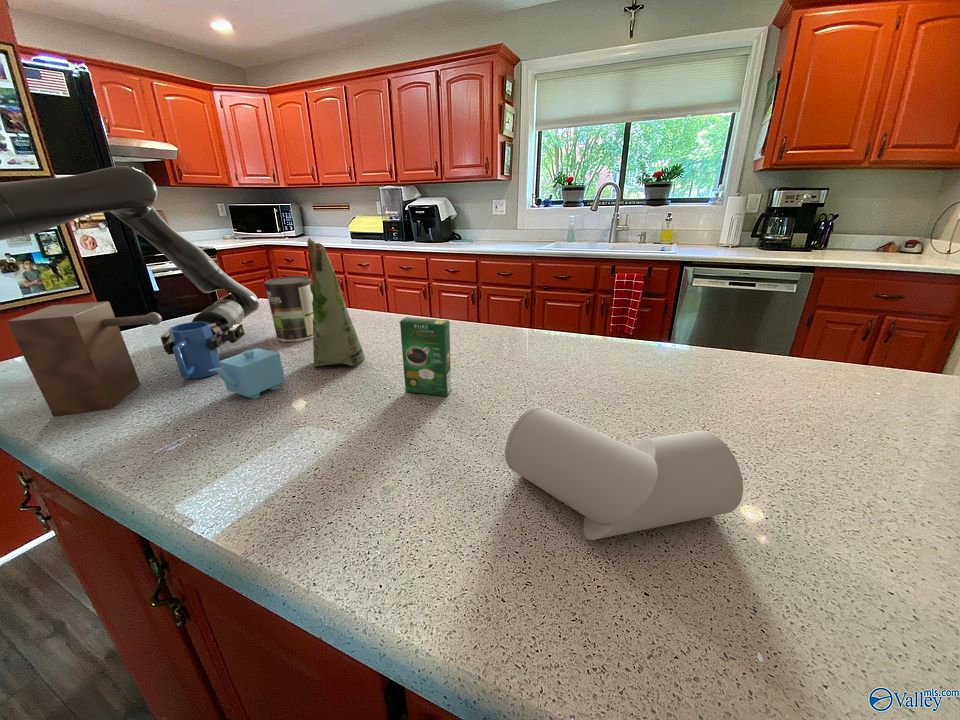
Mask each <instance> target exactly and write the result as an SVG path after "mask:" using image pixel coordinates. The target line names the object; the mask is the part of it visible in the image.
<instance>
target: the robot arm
mask: <svg viewBox="0 0 960 720" xmlns="http://www.w3.org/2000/svg"><path fill="white" fill-rule="evenodd" d="M157 198H158V188H157V185H156V183H155V181H154V180H153V179H152V178H151V177H150V176H149V175H148V174H146V173H145V172H143V171H141V170H139V169H137V168H134V167H130V166H124V165H115V166H110V167H106V168H101V169H96V170H93V171H89V172H88V171H87V172H84V173H79V174H78V173H77V174H74V175H73V174H72V175H69V176H68V175H67V176H62V177H51V178H50V177H49V178H36V179H25V180H17V181H7V182H5V181H4V182H0V241H4V240H9V239H10V240H11V239H15V238H21V237H26V236H30V235H34V234H38V233H41V232H45V231H48V230H51V229H53V228H56V227H58V226H59V227H60V226H61V225H64V224H67V223H69V222H72V221H74V220H76V219H79V218H83V217H85V216H90V215H95V214H100V213H111V214H112V215H113V216H115V217H116V218H118V219H119V220H120V221H121V222H123V223H124V224H125V225H127V226H128V227H129V228H131V229H132V230H134V231H135V232H136V233H137V234H138V235H140V236H141V237H142V238H143V239H145V240H146V241H147V242H148V243H150V244H151V245H152V247H154V248H155V249H157V250H158V251H159V252H160V253H161V254H162V255H163V256H165V257H166V258H167V259H168V260H169V261H170V262H171V263H172V264H173V265H174V266H175V267H176V268H178V270H179V271H180V272H181V273H182V274H183V275H184V276H185V277H186V278H187V279H188V280H189V281H190V282H191V283H192V284H193V285H194V286H195V287H196V288H197V289H198V290H199V291H201V292H202V293H205V294H209V293H213V292H216V291H218V290H224V291H226V292H229V293H227V294H226V295H223V296H222V297H221V298H219V299H217V300H216V301H215V302H213V304H212V305H209V306H207V307H206V308H204V309H203V310H202V311H200V312H199V313H197V314H196V315H195V316H194V317H193V319H192V320H191V322H208V323H209V324H210V328H211V331H212V335H213V336H212V337H211V338H210V339H208V343H209V347H210V350H216V349H217V350H218V348H220V347H221V346H224V345H225V344H227V342H229V343H230V344H235V343H236V342H238V341H239V340H240V339H242V338H243V337H244V336H245V335H246V334H245V330H244V326H243V320H244V319H245V318H247V317H248V316H250V315H251V314H253V313H255V312H256V311H257V310H258V309H259V307H260V301H259V298H258V297H257V295H256V294H255V293H254V292H253V291H251V290H250V289H249V288H247V287H245V286H244V285H242V284H240V283H239V282H238V281H236V280H235V279H233V278H232V277H231V276H229V275H228V274H227V273H225V272H224V270H222V268H221V267H219V265H218V264H217V263H216V262H215V261H214V260H213V259H212V258H211V257H210V256H209V255H208V254H207V253H206V252H205V251H204V250H203V249H201V248H200V247H199V246H197V244H195V243H193V242H192V241H190V240H189V239H188V238H186V237H185V236H183V235H181V233H179V232H178V231H176V229H174V228H173V227H172V226H170V225H169V223H167V222H166V221H165V219H164V218H163V217H162V216H161V215H160V214H159V212H158V211H157V210H156V208H155V207H154V204H155V203H156V201H157ZM159 339H160V340H161V344H162V347H163V349H164V352H165V353H167V355H174V353H173V347H174V345H173V342H172V339H171V336H170V333H169V330H168V329H167V330H166V331H165V332H164V333H163V334H162V335H161V336H159Z"/></svg>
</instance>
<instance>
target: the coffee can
mask: <svg viewBox="0 0 960 720" xmlns="http://www.w3.org/2000/svg"><path fill="white" fill-rule="evenodd" d="M263 283H264V284H263V285H264V287H265V291H266V295H267V300H268V304H269V309H270V313H271V317H272V321H273V326H274V331H275V335H276V340H277V341H278V342H282V343H299V342H304V341H309V340H312V339H314V337H313V306H312V301H313V294H312V292H311V288H310V284H311V283H312V277H310V276H304V275H292V276H282V277H275V278H271V279H267V280H266V281H264V282H263Z"/></svg>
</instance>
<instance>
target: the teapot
mask: <svg viewBox="0 0 960 720" xmlns="http://www.w3.org/2000/svg"><path fill="white" fill-rule="evenodd" d="M219 364H220V368H213V369H210V370H209V371H213V372H216V373H215V374H218V375H219V377H220V379H221V380H222V381H223V382H224V385H225V389H226V391H228V392H230V393H234V394H237V395H240V396H244V397H247V398H250V399H252V400H253V399H258V398H260V396H261V393H262V392H264V391H266V390H270V391H274V390H277V389H279V386H278V385H279V384H282V383H284V382H286V377H285V374H284V369H283V364H282V359H281V355H280V353H279V352H276V351H275V350H267V349H262V348H258V347H256V348H253V349H248V350H244V351H243V352H242V353H239V354H237V355H233V356H230V357H228V358H225V359H222V360H220V361H219Z"/></svg>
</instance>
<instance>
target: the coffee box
mask: <svg viewBox="0 0 960 720" xmlns="http://www.w3.org/2000/svg"><path fill="white" fill-rule="evenodd" d="M399 325H400V326H399V327H400V340H401V353H402V365H403V375H404V389H405V392H406V393H412V394H422V395H423V394H424V395H432V396H439V397H441V396H443V397H448V396H449V394H450V393H451V391H452V369H451V368H452V367H451V331H450V329H451V327H450V320H449V319H434V318H422V317H421V318H420V317H411V316H410V317H409V316H405V317H404V318H402V319H401V320H400V321H399Z"/></svg>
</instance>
